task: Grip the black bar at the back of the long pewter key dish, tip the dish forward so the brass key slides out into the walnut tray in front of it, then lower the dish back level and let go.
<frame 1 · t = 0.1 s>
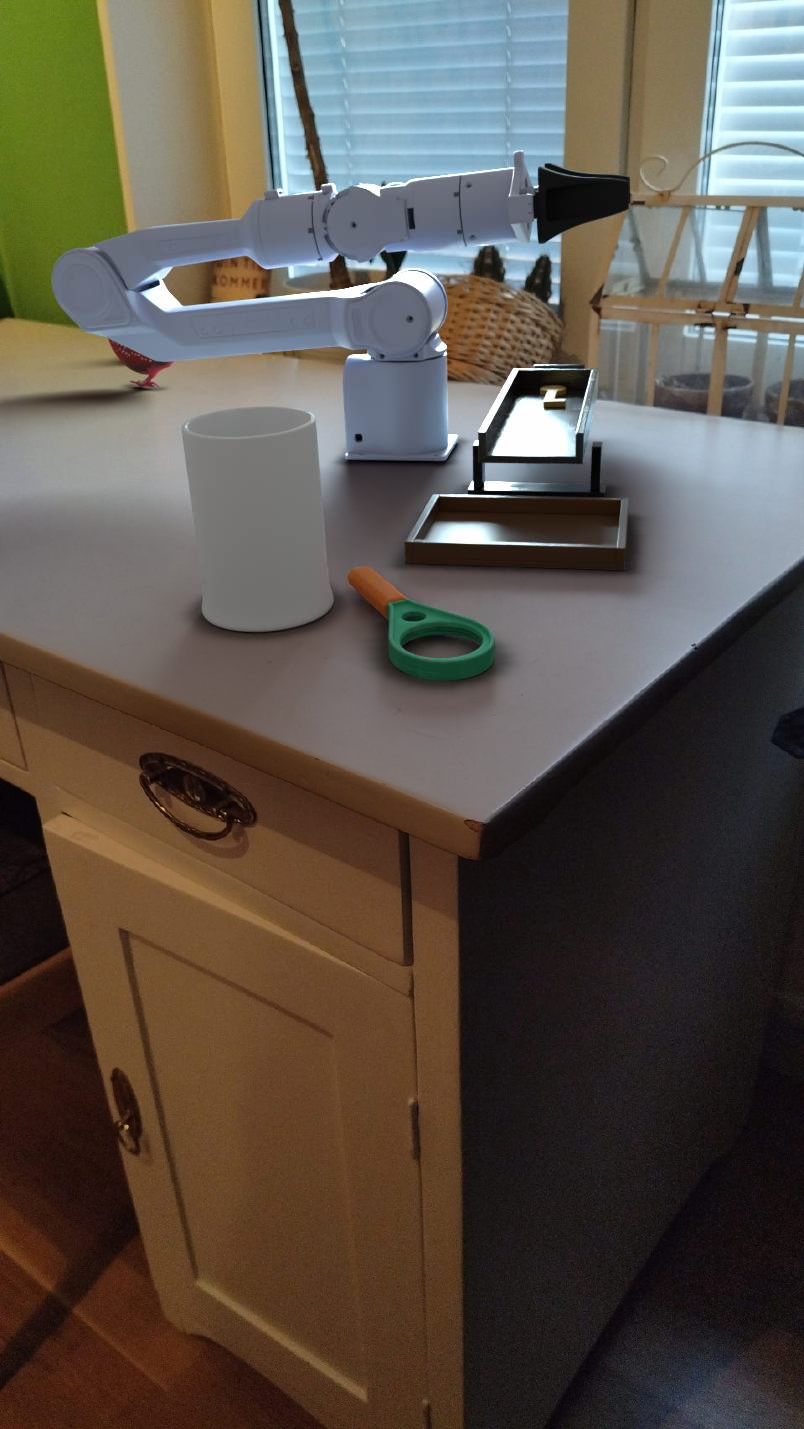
hand: (629, 192, 90), 22 cm above the table, tool horizontal, fingers open, 7 cm apart
tray: (521, 539, 81), on the table
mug: (259, 601, 73), on the table
magnifying glass: (410, 633, 67), on the table
key: (551, 398, 101), point 5 cm above the table, touching key dish
stand: (536, 491, 91), on the table
decorative bird figurine: (156, 390, 135), on the table
key dish: (547, 403, 96), point 5 cm above the table, hinge at 0.0°, touching key
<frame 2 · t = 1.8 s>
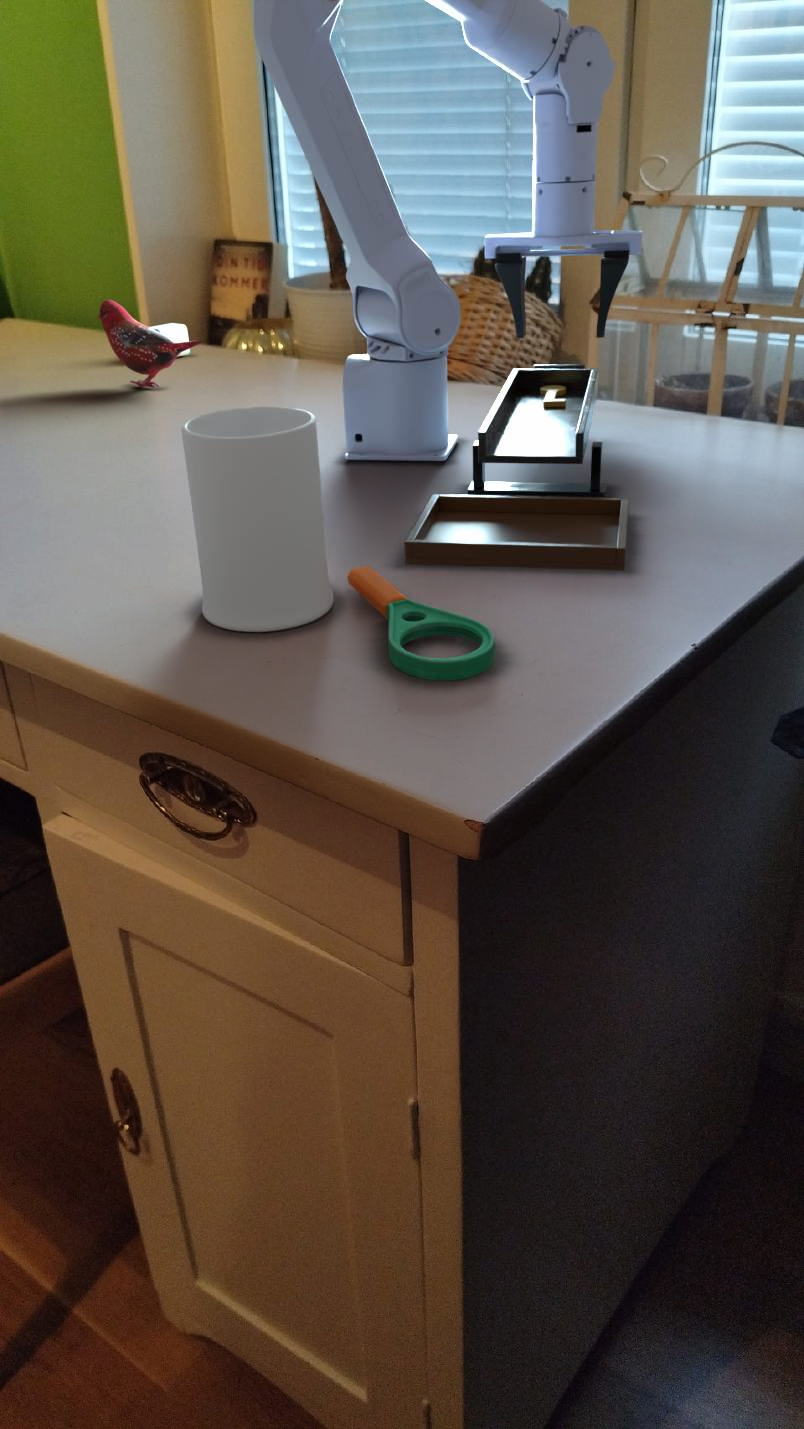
hand: (560, 336, 107), 8 cm above the table, tool pointing down, fingers open, 7 cm apart
nothing on the table moved.
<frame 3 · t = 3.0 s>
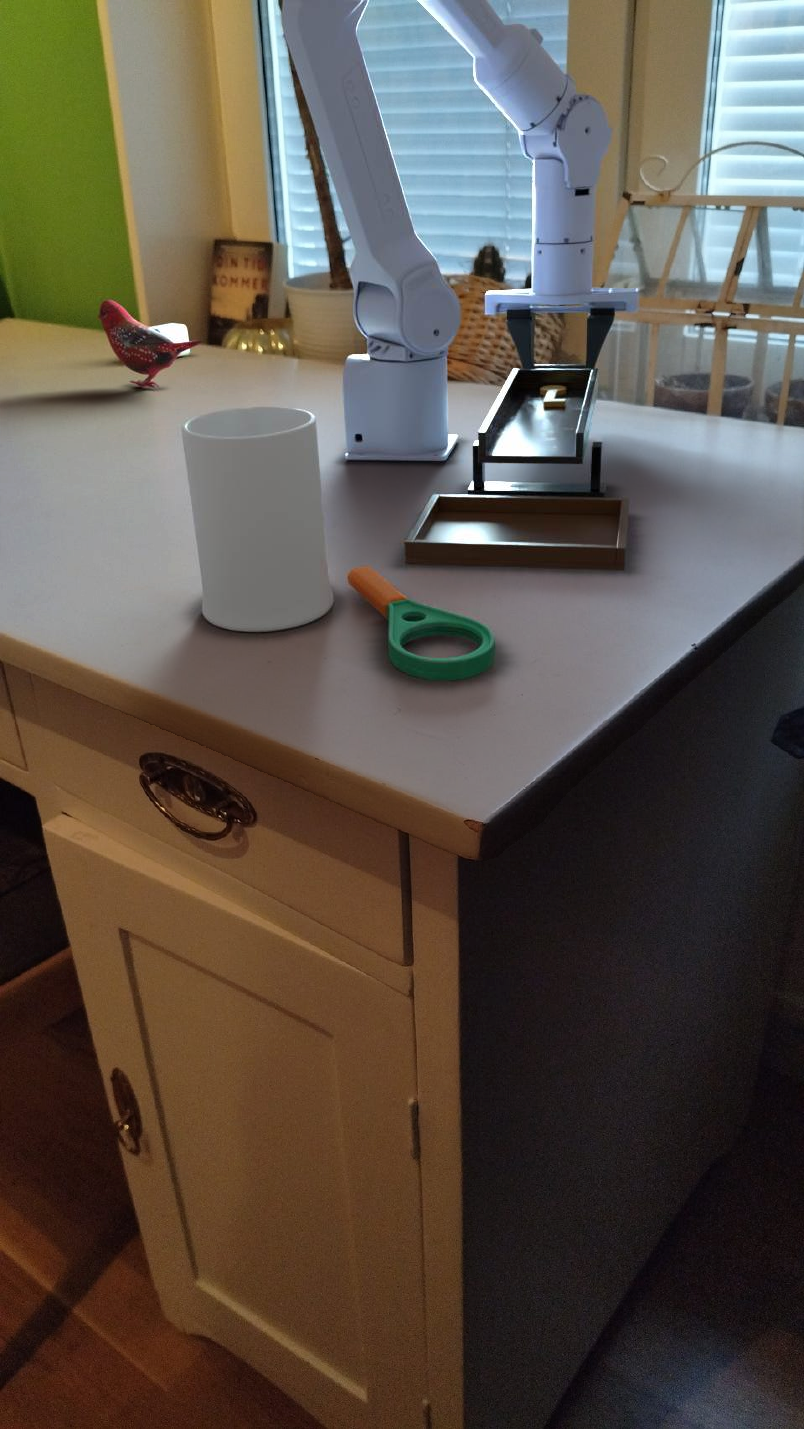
hand: (559, 389, 109), 3 cm above the table, tool pointing down, fingers closed on key dish, 5 cm apart
key dish: (547, 403, 96), point 5 cm above the table, hinge at 0.0°, touching gripper, key
everything else where it was.
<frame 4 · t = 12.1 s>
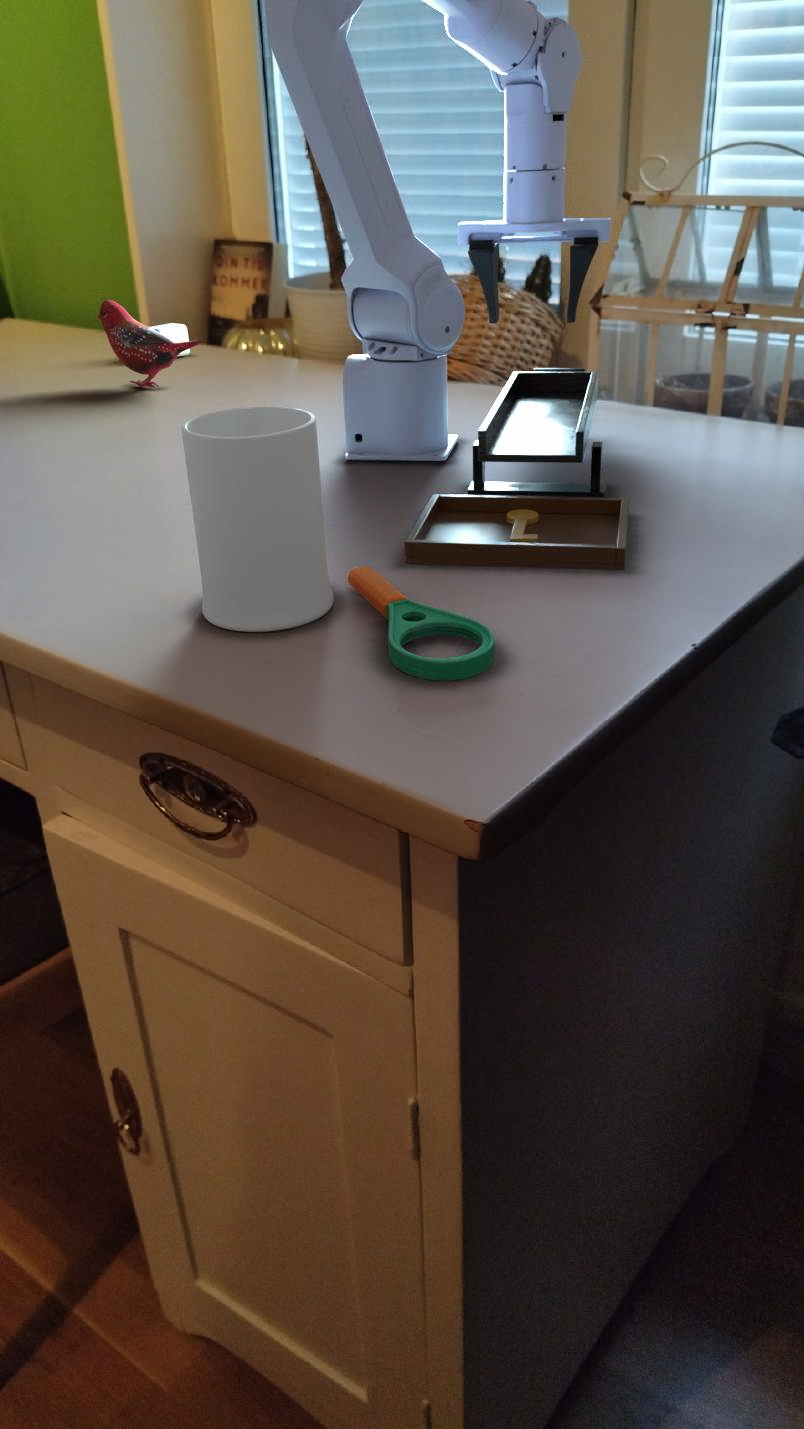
hand: (532, 321, 110), 9 cm above the table, tool pointing down, fingers open, 7 cm apart
key: (519, 529, 82), resting on tray
key dish: (547, 405, 97), point 5 cm above the table, hinge at -0.9°
everything else where it was.
at the end: key inside the target area in the tray (1.1 cm from its centre), point 0.4 cm above the tray's base; key dish reached +17° during the clip, -1° at the end; key dish at -1° (first picture: +0°) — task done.
